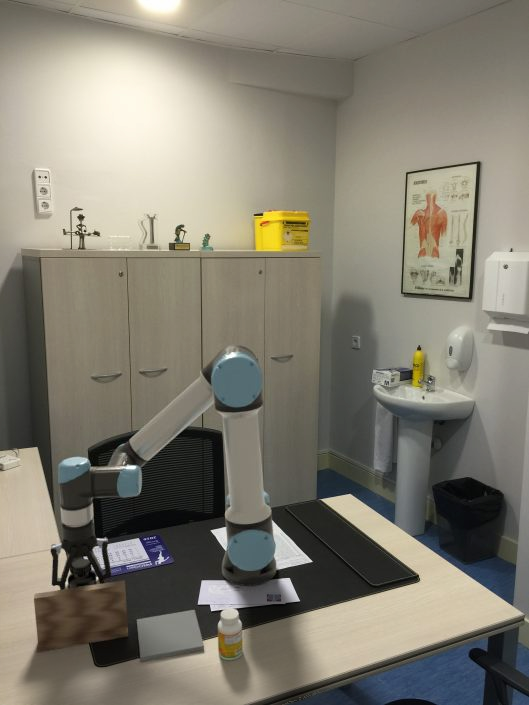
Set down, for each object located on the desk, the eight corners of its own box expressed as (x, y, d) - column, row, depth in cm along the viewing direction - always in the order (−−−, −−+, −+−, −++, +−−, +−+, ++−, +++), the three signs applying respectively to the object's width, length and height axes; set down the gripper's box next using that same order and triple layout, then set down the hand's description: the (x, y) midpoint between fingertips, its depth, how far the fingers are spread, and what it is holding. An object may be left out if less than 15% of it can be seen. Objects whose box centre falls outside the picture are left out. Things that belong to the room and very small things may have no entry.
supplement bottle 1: (90, 617, 148) (86, 572, 146) (64, 613, 150) (61, 569, 148) (103, 600, 155) (100, 557, 153) (78, 598, 156) (75, 555, 154)
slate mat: (194, 613, 149) (194, 609, 149) (204, 649, 136) (203, 645, 136) (136, 623, 146) (136, 619, 146) (140, 661, 132) (140, 657, 132)
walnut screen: (127, 620, 147) (124, 575, 144) (128, 636, 141) (125, 589, 139) (39, 635, 142) (35, 589, 139) (37, 652, 136) (32, 603, 134)
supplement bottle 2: (218, 645, 137) (217, 606, 136) (242, 644, 138) (241, 605, 136) (218, 661, 132) (217, 621, 130) (243, 660, 133) (242, 620, 131)
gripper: (118, 508, 154) (123, 590, 158) (36, 519, 149) (43, 603, 153) (119, 521, 147) (124, 607, 151) (33, 532, 142) (41, 621, 146)
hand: (84, 605), depth 152 cm, fingers closed on supplement bottle 1, 7 cm apart
